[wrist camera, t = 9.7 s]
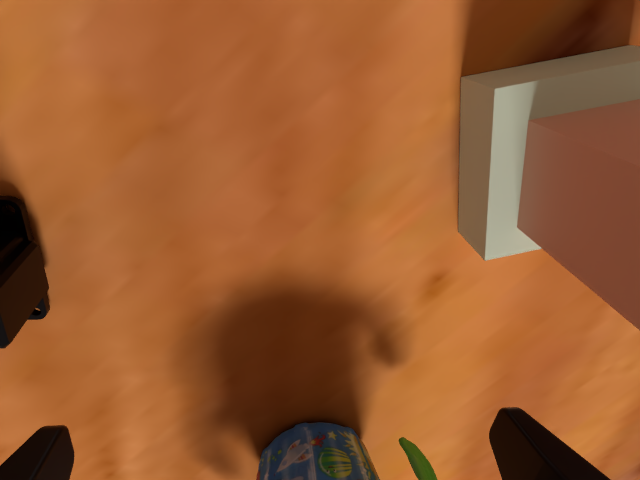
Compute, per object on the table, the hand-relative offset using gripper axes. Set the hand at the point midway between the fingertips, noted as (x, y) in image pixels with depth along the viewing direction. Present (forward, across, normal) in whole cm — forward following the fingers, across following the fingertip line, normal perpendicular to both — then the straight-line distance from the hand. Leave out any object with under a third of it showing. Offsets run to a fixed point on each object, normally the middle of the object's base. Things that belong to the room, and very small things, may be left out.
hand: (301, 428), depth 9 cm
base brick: (+13, -13, -3) cm, 19 cm away
